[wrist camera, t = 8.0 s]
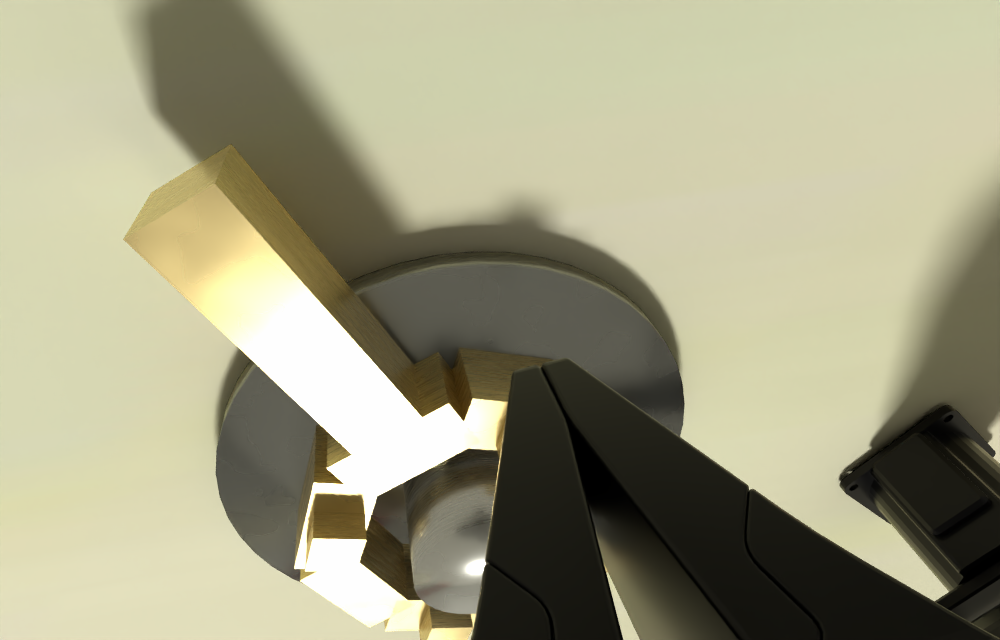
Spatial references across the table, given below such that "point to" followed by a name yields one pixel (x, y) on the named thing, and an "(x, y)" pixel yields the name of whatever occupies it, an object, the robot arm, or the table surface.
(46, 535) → the table surface
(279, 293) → the wooden gear crank
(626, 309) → the cap plate
